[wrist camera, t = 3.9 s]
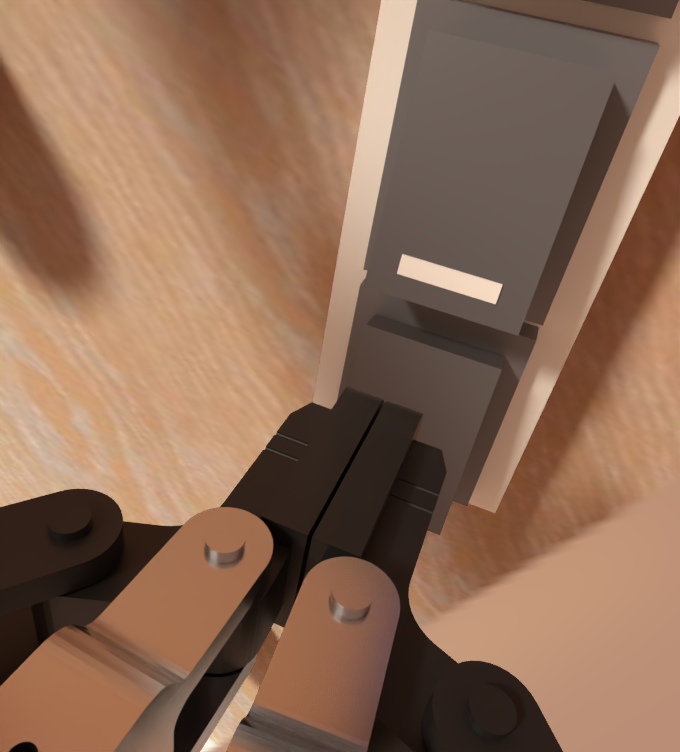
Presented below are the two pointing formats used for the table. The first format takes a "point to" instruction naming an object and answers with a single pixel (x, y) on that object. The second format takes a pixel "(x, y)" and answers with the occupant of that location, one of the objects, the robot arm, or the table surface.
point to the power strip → (579, 224)
